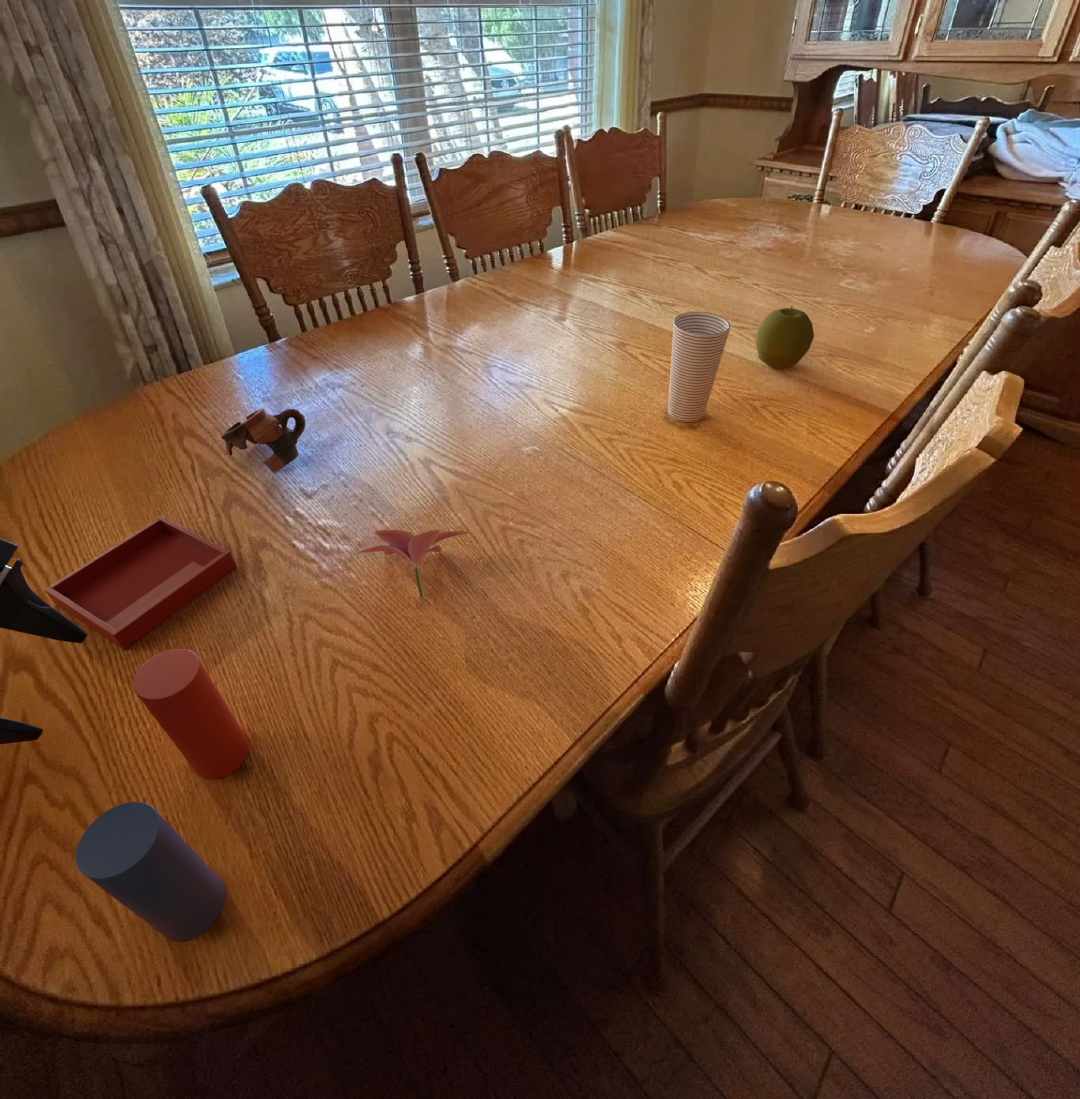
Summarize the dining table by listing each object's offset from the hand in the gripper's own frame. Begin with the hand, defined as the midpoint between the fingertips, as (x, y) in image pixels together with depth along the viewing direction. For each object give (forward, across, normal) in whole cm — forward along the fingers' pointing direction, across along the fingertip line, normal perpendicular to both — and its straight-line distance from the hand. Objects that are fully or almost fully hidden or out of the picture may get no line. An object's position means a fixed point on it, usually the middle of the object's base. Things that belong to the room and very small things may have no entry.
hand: (64, 683), depth 50 cm
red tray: (+5, +25, +13) cm, 29 cm away
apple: (+76, +67, -57) cm, 116 cm away
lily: (+28, +22, -9) cm, 37 cm away
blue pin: (+15, -13, +4) cm, 20 cm away
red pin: (+15, 0, +4) cm, 15 cm away
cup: (+60, +52, -41) cm, 90 cm away
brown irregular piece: (+13, +51, +6) cm, 53 cm away
